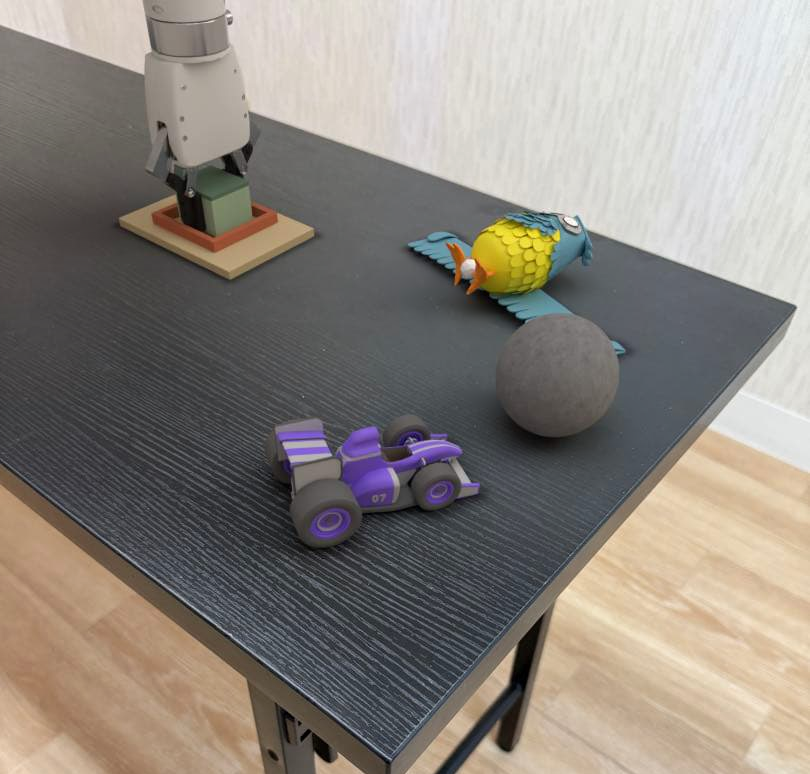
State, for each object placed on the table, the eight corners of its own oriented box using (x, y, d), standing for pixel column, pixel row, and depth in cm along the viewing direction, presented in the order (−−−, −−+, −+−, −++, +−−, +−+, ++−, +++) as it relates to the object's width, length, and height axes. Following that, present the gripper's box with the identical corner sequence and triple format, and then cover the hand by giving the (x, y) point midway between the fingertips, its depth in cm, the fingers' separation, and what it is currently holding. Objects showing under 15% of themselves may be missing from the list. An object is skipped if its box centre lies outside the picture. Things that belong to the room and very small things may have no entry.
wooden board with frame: (120, 226, 92) (115, 207, 90) (206, 189, 99) (203, 171, 97) (229, 280, 84) (227, 260, 83) (314, 236, 91) (313, 217, 90)
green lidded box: (180, 220, 90) (172, 180, 87) (216, 204, 93) (210, 165, 90) (216, 238, 88) (210, 197, 85) (253, 220, 91) (248, 180, 88)
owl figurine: (381, 175, 82) (494, 149, 89) (379, 255, 89) (485, 225, 95) (569, 298, 67) (689, 255, 74) (550, 384, 73) (663, 337, 80)
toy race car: (486, 507, 63) (496, 443, 58) (300, 556, 58) (294, 491, 54) (438, 432, 68) (444, 368, 64) (266, 472, 64) (258, 407, 60)
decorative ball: (466, 412, 70) (477, 311, 63) (550, 376, 75) (570, 277, 67) (542, 477, 65) (564, 375, 58) (628, 434, 69) (659, 333, 62)
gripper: (228, 8, 83) (247, 183, 97) (89, 45, 74) (132, 234, 87) (280, 23, 80) (293, 202, 94) (142, 64, 71) (179, 257, 84)
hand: (215, 216), depth 90 cm, fingers closed on green lidded box, 5 cm apart
